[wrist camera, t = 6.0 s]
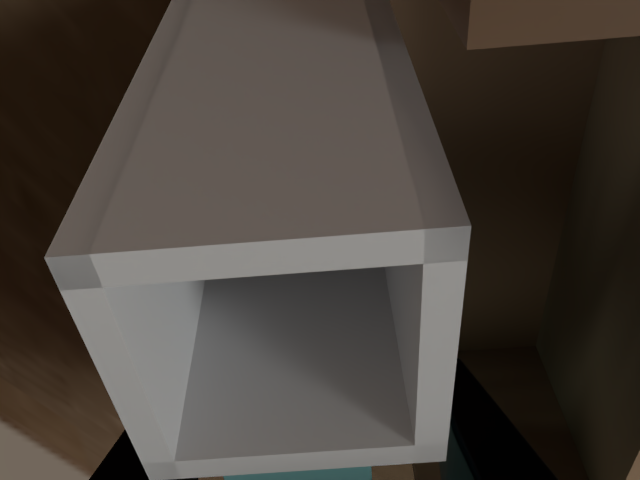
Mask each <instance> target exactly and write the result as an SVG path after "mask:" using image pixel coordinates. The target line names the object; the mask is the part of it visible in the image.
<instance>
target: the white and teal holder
mask: <svg viewBox="0 0 640 480" xmlns="http://www.w3.org/2000/svg"><path fill="white" fill-rule="evenodd" d="M470 234H471V223H470V220H469V218H468V215H467V212H466V210H465V207H464V204H463V201H462V199H461V196H460V193H459V190H458V188H457V185H456V182H455V179H454V177H453V174H452V171H451V169H450V166H449V163H448V160H447V158H446V155H445V152H444V149H443V147H442V144H441V141H440V138H439V136H438V133H437V130H436V127H435V125H434V122H433V119H432V117H431V114H430V111H429V108H428V106H427V103H426V100H425V97H424V95H423V92H422V89H421V86H420V84H419V81H418V78H417V75H416V73H415V70H414V67H413V65H412V62H411V59H410V56H409V54H408V51H407V48H406V45H405V43H404V40H403V37H402V34H401V32H400V29H399V26H398V23H397V21H396V18H395V15H394V13H393V10H392V7H391V4H390V2H389V0H171V2H170V4H169V6H168V8H167V10H166V12H165V14H164V16H163V18H162V20H161V22H160V24H159V26H158V28H157V30H156V32H155V34H154V36H153V38H152V40H151V42H150V44H149V46H148V48H147V51H146V53H145V55H144V57H143V59H142V61H141V63H140V65H139V67H138V69H137V71H136V73H135V75H134V77H133V79H132V81H131V83H130V85H129V87H128V89H127V91H126V93H125V95H124V97H123V99H122V101H121V103H120V105H119V107H118V109H117V111H116V113H115V115H114V117H113V119H112V121H111V123H110V125H109V127H108V129H107V131H106V133H105V135H104V137H103V140H102V142H101V144H100V146H99V148H98V150H97V152H96V154H95V156H94V158H93V160H92V162H91V164H90V166H89V168H88V170H87V172H86V174H85V176H84V178H83V180H82V182H81V184H80V186H79V188H78V190H77V192H76V194H75V196H74V198H73V200H72V202H71V204H70V206H69V208H68V210H67V212H66V214H65V216H64V218H63V220H62V222H61V224H60V226H59V229H58V231H57V233H56V235H55V237H54V239H53V241H52V243H51V245H50V247H49V249H48V251H47V253H46V255H45V257H44V259H45V261H46V263H47V265H48V267H49V269H50V271H51V273H52V275H53V278H54V280H55V282H56V284H57V286H58V288H59V290H60V292H61V294H62V297H63V299H64V301H65V303H66V305H67V307H68V309H69V311H70V313H71V316H72V318H73V320H74V322H75V324H76V326H77V328H78V330H79V332H80V335H81V337H82V339H83V341H84V343H85V345H86V347H87V349H88V351H89V354H90V356H91V358H92V360H93V362H94V364H95V366H96V368H97V370H98V373H99V375H100V377H101V379H102V381H103V383H104V385H105V387H106V389H107V392H108V394H109V396H110V398H111V400H112V402H113V404H114V406H115V408H116V411H117V413H118V415H119V417H120V419H121V421H122V423H123V425H124V427H125V430H126V432H127V434H128V436H129V438H130V440H131V442H132V444H133V446H134V449H135V451H136V453H137V455H138V457H139V459H140V461H141V463H142V465H143V468H144V470H145V472H146V474H147V476H148V478H149V480H170V479H185V478H200V477H215V476H223V477H224V480H372V473H371V466H381V465H396V464H411V463H426V462H441V461H446V455H447V446H448V437H449V428H450V419H451V409H452V400H453V391H454V382H455V372H456V363H457V354H458V345H459V336H460V326H461V317H462V308H463V299H464V289H465V280H466V271H467V262H468V253H469V243H470Z"/></svg>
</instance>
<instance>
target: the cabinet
mask: <svg viewBox="0 0 640 480" xmlns="http://www.w3.org/2000/svg"><path fill="white" fill-rule="evenodd" d="M389 2H390V4H391V7H392V10H393V13H394V15H395V18H396V21H397V23H398V26H399V29H400V32H401V34H402V37H403V40H404V43H405V45H406V48H407V51H408V54H409V56H410V59H411V62H412V65H413V67H414V70H415V73H416V75H417V78H418V81H419V84H420V86H421V89H422V92H423V95H424V97H425V100H426V103H427V106H428V108H429V111H430V114H431V117H432V119H433V122H434V125H435V127H436V130H437V133H438V136H439V138H440V141H441V144H442V147H443V149H444V152H445V155H446V158H447V160H448V163H449V166H450V169H451V171H452V174H453V177H454V179H455V182H456V185H457V188H458V190H459V193H460V196H461V199H462V201H463V204H464V207H465V210H466V212H467V215H468V218H469V220H470V223H471V234H470V243H469V253H468V262H467V271H466V280H465V289H464V299H463V308H462V317H461V326H460V336H459V345H458V354H457V357H458V358H460V359H461V360H462V362H463V363H464V364H465V365H466V366H467V368H468V369H469V370H470V371H471V373H472V374H473V375H474V376H475V377H476V379H477V380H478V381H479V382H480V384H481V385H482V386H483V387H484V388H485V390H486V391H487V392H488V393H489V395H490V396H491V397H492V398H493V400H494V401H495V402H496V403H497V404H498V406H499V407H500V408H501V409H502V411H503V412H504V413H505V414H506V416H507V417H508V418H509V419H510V420H511V422H512V423H513V424H514V425H515V427H516V428H517V429H518V430H519V431H520V433H521V434H522V435H523V436H524V438H525V439H526V440H527V441H528V443H529V444H530V445H531V446H532V447H533V449H534V450H535V451H536V452H537V454H538V455H539V456H540V457H541V459H542V460H543V461H544V462H545V463H546V465H547V466H548V467H549V468H550V470H551V471H552V472H553V473H554V474H555V476H556V477H557V478H558V479H559V480H640V0H389ZM412 465H413V471H414V478H415V480H441V474H440V467H439V462H426V463H412Z"/></svg>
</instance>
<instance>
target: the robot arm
mask: <svg viewBox="0 0 640 480" xmlns="http://www.w3.org/2000/svg"><path fill="white" fill-rule="evenodd" d="M439 467H440V474H441V480H559V479H558V478H557V477H556V476H555V474H554V473H553V472H552V471H551V470H550V468H549V467H548V466H547V465H546V463H545V462H544V461H543V460H542V459H541V457H540V456H539V455H538V454H537V452H536V451H535V450H534V449H533V447H532V446H531V445H530V444H529V443H528V441H527V440H526V439H525V438H524V436H523V435H522V434H521V433H520V431H519V430H518V429H517V428H516V427H515V425H514V424H513V423H512V422H511V420H510V419H509V418H508V417H507V416H506V414H505V413H504V412H503V411H502V409H501V408H500V407H499V406H498V404H497V403H496V402H495V401H494V400H493V398H492V397H491V396H490V395H489V393H488V392H487V391H486V390H485V388H484V387H483V386H482V385H481V384H480V382H479V381H478V380H477V379H476V377H475V376H474V375H473V374H472V373H471V371H470V370H469V369H468V368H467V366H466V365H465V364H464V363H463V362H462V360H461V359H460V358H458V357H457V363H456V372H455V382H454V391H453V400H452V409H451V419H450V428H449V437H448V446H447V455H446V461H441V462H439ZM89 480H149V478H148V476H147V474H146V472H145V470H144V468H143V465H142V463H141V461H140V459H139V457H138V455H137V453H136V451H135V449H134V446H133V444H132V442H131V440H130V438H129V436H128V434H127V432H126V430H124V432H123V433H122V435H121V436H120V437H119V439H118V440H117V442H116V443H115V444H114V446H113V447H112V448H111V450H110V451H109V453H108V454H107V455H106V457H105V458H104V460H103V461H102V462H101V464H100V465H99V467H98V468H97V469H96V471H95V472H94V474H93V475H92V476H91V478H90V479H89ZM170 480H198V478H185V479H170Z"/></svg>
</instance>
